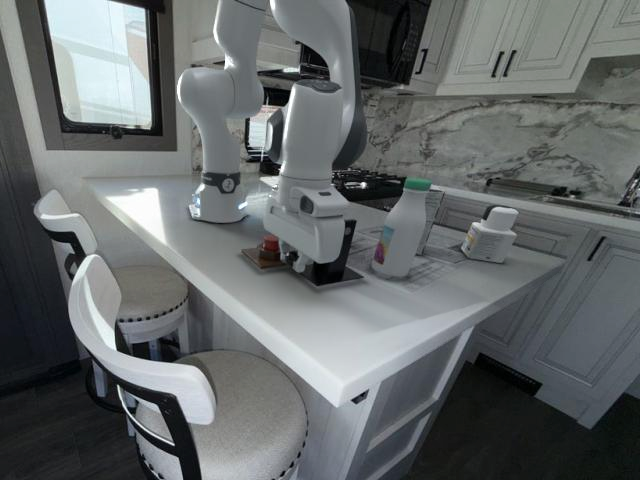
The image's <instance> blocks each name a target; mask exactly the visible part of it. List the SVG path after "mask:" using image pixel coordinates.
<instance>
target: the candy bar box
mask: <svg viewBox="0 0 640 480" xmlns="http://www.w3.org/2000/svg"><path fill="white" fill-rule="evenodd" d="M445 194H446V190H444V189H442V188H440V187H439V186H437V185H435V184H434V183H432V184H431V187H430V189H429V193H427V195H426V198H425V211H426V224H425V228H424V231H423V234H422V237H421V240H420V243H419V245H418V248H417V251H416V254H415V256H416V255H417V256H422V255H423V253H424V251H425V248H426V245H427V243H428V240H429V238H430V234H431V231H432V229H433V226H434V223H435V221H436V218H437V216H438V213H439V211H440V208H441V205H442V202H443V200H444V197H445Z"/></svg>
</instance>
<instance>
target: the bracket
mask: <svg viewBox="0 0 640 480" xmlns="http://www.w3.org/2000/svg"><path fill="white" fill-rule="evenodd" d="M341 216H342V217H343V218H344V215H341ZM344 222H345V231H344V237H343V242H342V246H341V250H340V254H339V256H338V258H337V259H336V260H334V261H333V262H328V263H321V264H320V263H317V262H316V261H314V260H313V263H309V264H305V270H304V271H303V272H298V273H299V274H300V275H301V276H303V277H304V278H305V279H306V280H308V281H309V282H311V283H312V284H314V285H315V286H316V287H321V286H327V285H332V284H338V283H343V282H348V281H354V280H358V279H364V278H365V276H363V275H362V274H360V273H359V272H357V271H356V270H353V269H351V268H350V267H348V266H347V262H348V258H349V255H350V250H351V247H352V242H353V238H354V235H355V231H356V226H357V223H358V220H357V219H354V218H351V219H350V218H349V219H345V220H344ZM291 268H292V269H293V267H291Z"/></svg>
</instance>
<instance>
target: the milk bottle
mask: <svg viewBox="0 0 640 480" xmlns="http://www.w3.org/2000/svg"><path fill="white" fill-rule="evenodd" d="M431 184H433V181H432V180H430V179H424V178H417V177H408V178H406V179H405V181H404V184H403V188H402V190H403V192H402V195H401V196H400V198H399V199H398V201H397V202H396V204H395V205H394V206H393V207H392V208H391V210H390V211H389V212H388V214H387V216H386V218H385V220H384V223H383V226H382V229H381V232H380V236H379V239H378V242H377V245H376V248H375V252H374V254H373V258H372V262H371V266H370V267H371V269H372V270H373V271H375V272H377V273H379V274H382V275H385V276H389V277H394V278H395V277H396V278H402V277H406V276H408V274H409V272H410V270H411V267H412V265H413V261H414V259H415V256H416V251H417V248H418V245H419V243H420V240H421V237H422V234H423V231H424V228H425V224H426V211H425V198H426V195H427V193H429V189H430V187H431Z"/></svg>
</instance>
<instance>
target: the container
mask: <svg viewBox="0 0 640 480" xmlns="http://www.w3.org/2000/svg"><path fill="white" fill-rule="evenodd" d="M519 211H520V210H518V209H516V208H515V207H511V206H507V205H500V204H498V205H497V204H492V205H488V206H487V207H486V209H485V211H484V213H483V215H482V218H481V220H480V222H477V221H473V222H472V223H471V225H470V227H469V230H468V232H467V234H466V236H465V238H464V240H463V243H462V245H461V248H460V249H461V250H462V252H463V253H464V255H466V257H467V258H468V259H469V260H470V259H471V260H477V261H482V262H483V261H485V262H489V263H497V264H503V262H504V260H505V259H506V257H507V255H508V254H509V251H510V249H511V247H512V246H513V244H514V242H515V240H516V238H517V236H518V234H516V233H515V232H514V231H513V230H512V229H511V228H513V226H514V224H515V222H516V220H517V218H518V216H519V214H520V212H519Z"/></svg>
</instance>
